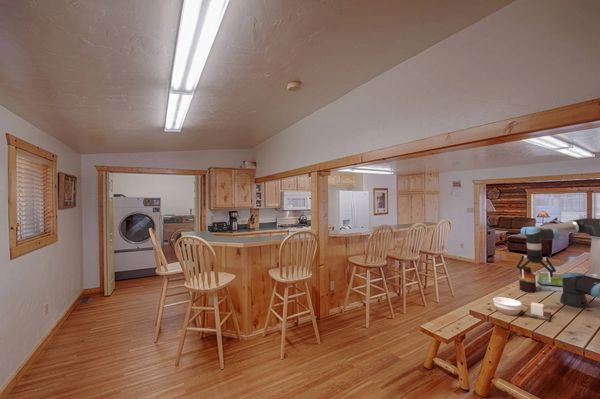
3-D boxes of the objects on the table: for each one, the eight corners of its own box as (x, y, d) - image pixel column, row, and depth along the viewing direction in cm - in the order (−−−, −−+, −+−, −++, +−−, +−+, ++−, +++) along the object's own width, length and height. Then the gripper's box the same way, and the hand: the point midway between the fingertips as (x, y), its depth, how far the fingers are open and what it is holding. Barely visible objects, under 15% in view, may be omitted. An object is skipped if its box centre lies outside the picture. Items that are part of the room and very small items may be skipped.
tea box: (542, 290, 225) (541, 273, 225) (537, 286, 234) (536, 270, 234) (565, 292, 219) (564, 274, 219) (558, 288, 228) (558, 271, 228)
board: (551, 315, 177) (551, 312, 177) (549, 322, 168) (548, 318, 168) (527, 310, 186) (527, 307, 186) (524, 316, 177) (524, 313, 177)
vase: (523, 288, 231) (522, 265, 231) (538, 291, 221) (537, 267, 222) (516, 290, 227) (515, 266, 227) (532, 293, 217) (531, 269, 217)
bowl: (524, 319, 173) (524, 307, 173) (494, 314, 181) (494, 302, 182) (520, 310, 187) (519, 299, 187) (492, 306, 195) (491, 295, 195)
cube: (544, 313, 176) (543, 304, 176) (543, 316, 172) (542, 307, 172) (532, 310, 180) (531, 302, 181) (531, 313, 176) (530, 304, 177)
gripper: (559, 250, 174) (562, 281, 174) (512, 246, 192) (513, 275, 192) (559, 251, 169) (561, 284, 168) (510, 248, 187) (512, 278, 186)
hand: (536, 280), depth 180 cm, fingers open, 13 cm apart
